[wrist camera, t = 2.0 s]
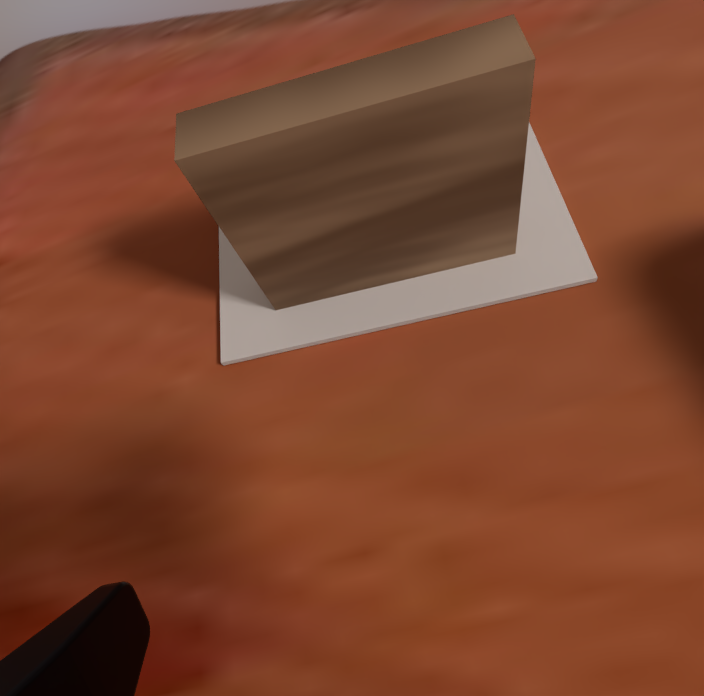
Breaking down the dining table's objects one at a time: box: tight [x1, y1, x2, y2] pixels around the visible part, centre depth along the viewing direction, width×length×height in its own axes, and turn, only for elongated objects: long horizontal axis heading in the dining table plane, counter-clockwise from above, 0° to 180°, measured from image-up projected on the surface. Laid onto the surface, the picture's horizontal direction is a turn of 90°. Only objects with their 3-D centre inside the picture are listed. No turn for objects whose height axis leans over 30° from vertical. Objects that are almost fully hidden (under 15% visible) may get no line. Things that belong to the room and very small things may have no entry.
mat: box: [219, 123, 598, 366], centre depth 28 cm, size 16×18×1 cm
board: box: [175, 14, 535, 310], centre depth 22 cm, size 2×12×10 cm, turn 98°
